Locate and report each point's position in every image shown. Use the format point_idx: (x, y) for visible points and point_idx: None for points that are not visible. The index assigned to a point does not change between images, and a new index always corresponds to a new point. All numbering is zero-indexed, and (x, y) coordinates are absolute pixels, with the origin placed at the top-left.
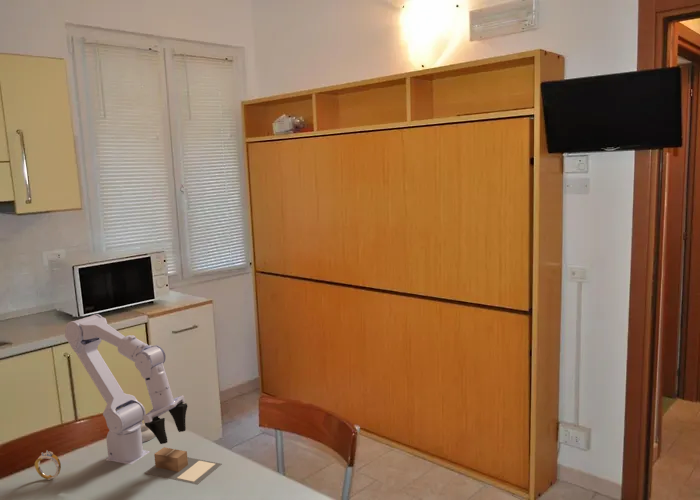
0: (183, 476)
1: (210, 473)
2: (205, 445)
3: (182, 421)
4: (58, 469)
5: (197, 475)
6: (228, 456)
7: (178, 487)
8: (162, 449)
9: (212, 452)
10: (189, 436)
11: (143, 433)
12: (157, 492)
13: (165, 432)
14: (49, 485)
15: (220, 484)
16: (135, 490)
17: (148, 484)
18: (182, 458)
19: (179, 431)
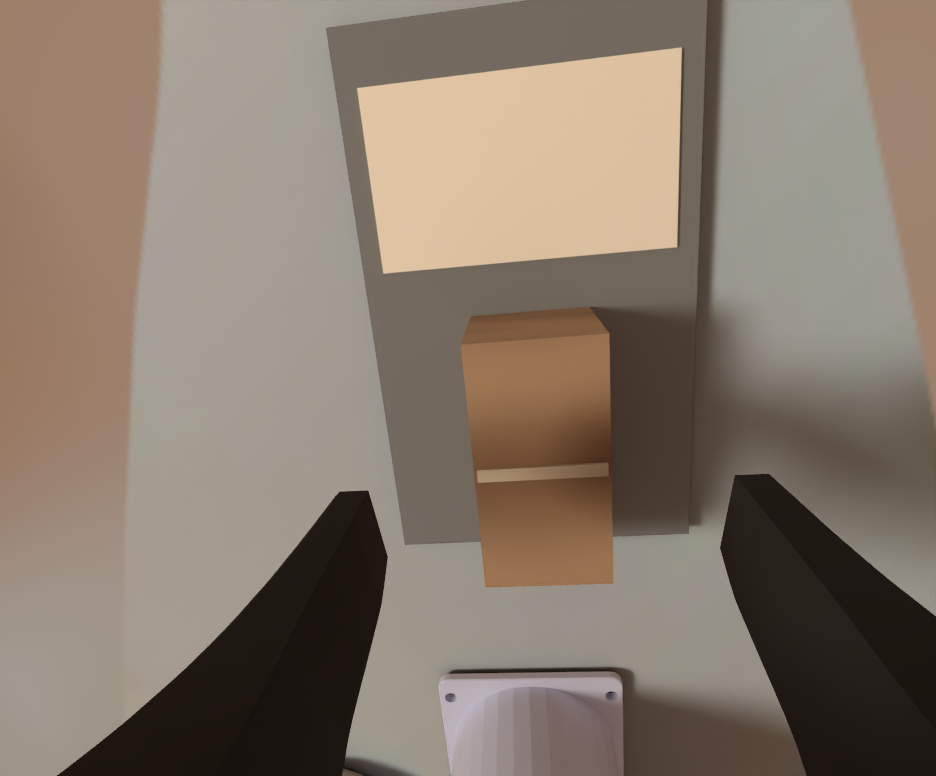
0: (638, 210)
1: (505, 4)
2: (174, 416)
3: (315, 608)
4: None
5: (582, 98)
6: (189, 105)
7: (760, 150)
8: (522, 573)
9: (217, 290)
10: (153, 599)
11: None
12: (870, 261)
13: (826, 585)
14: None
15: None
16: (880, 436)
17: (783, 410)
18: (533, 329)
19: (383, 554)
